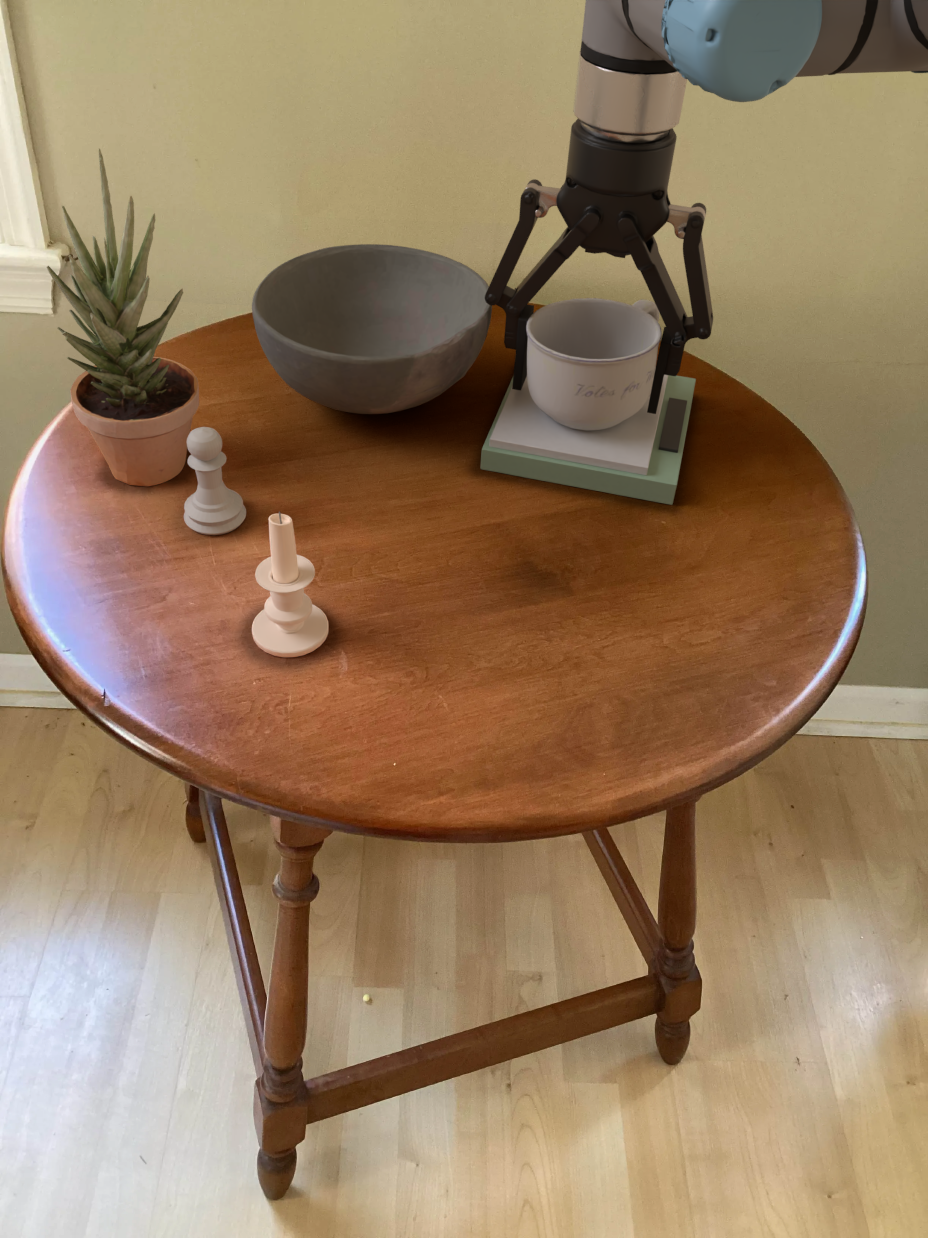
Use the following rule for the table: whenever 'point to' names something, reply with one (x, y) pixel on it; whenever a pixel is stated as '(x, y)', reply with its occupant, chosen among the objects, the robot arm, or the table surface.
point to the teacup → (592, 360)
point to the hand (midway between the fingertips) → (585, 393)
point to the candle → (287, 597)
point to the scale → (594, 445)
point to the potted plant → (126, 358)
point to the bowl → (371, 325)
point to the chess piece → (211, 487)
